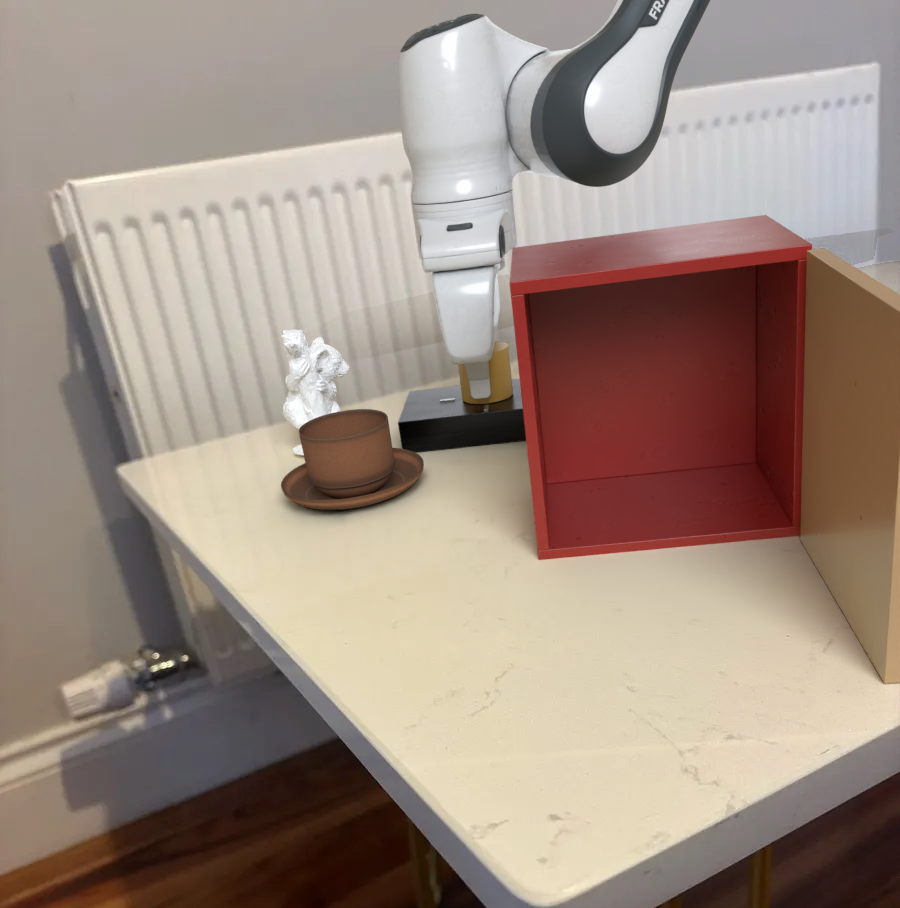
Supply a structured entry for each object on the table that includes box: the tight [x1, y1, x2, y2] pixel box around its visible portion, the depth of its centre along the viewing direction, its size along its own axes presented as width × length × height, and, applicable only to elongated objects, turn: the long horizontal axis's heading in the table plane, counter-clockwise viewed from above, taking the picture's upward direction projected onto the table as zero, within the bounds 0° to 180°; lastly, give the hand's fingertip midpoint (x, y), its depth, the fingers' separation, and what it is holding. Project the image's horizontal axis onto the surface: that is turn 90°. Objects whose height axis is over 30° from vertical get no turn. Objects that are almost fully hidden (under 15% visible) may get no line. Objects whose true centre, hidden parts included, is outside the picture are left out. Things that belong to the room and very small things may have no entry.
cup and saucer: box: [280, 408, 425, 511], centre depth 85 cm, size 12×12×6 cm
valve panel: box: [397, 378, 526, 453], centre depth 97 cm, size 12×10×3 cm
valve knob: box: [457, 340, 513, 404], centre depth 95 cm, size 5×5×5 cm
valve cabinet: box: [509, 214, 813, 561], centre depth 70 cm, size 13×18×19 cm
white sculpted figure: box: [280, 329, 351, 457], centre depth 95 cm, size 8×7×12 cm
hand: (483, 386), depth 96 cm, fingers closed on valve knob, 5 cm apart
